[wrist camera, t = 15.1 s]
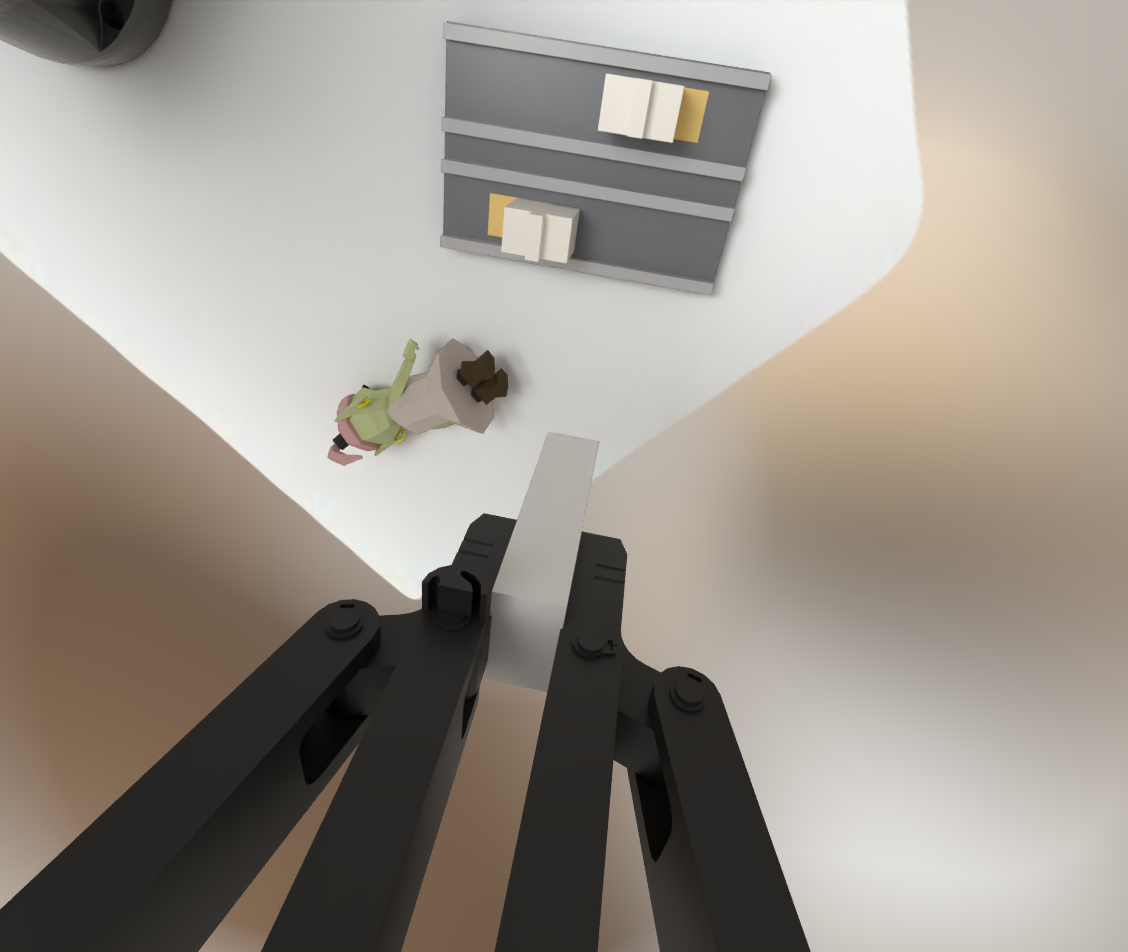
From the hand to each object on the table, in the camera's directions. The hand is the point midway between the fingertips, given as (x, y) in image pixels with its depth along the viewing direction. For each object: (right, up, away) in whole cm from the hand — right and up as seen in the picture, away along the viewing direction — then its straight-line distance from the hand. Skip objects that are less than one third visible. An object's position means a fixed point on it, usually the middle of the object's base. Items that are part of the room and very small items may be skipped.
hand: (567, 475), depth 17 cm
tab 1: (-1, +16, +20) cm, 25 cm away
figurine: (-11, +8, +29) cm, 32 cm away
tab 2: (+4, +21, +15) cm, 26 cm away
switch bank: (+2, +19, +19) cm, 27 cm away
